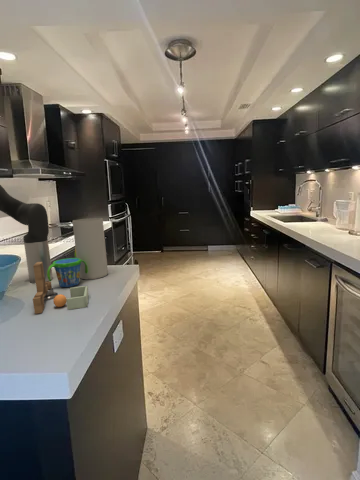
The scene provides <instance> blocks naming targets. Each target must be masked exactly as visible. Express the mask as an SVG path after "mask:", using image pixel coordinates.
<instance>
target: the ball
mask: <svg viewBox="0 0 360 480" xmlns="http://www.w3.org/2000/svg"><path fill="white" fill-rule="evenodd" d="M66 299H67V296H66V295H64V294H58V295H57V296H55V298H53V304H54V306H55V307H57V308H61V307H64V306H65V305H67V301H66Z"/></svg>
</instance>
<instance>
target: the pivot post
mask: <svg viewBox="0 0 360 480" xmlns="http://www.w3.org/2000/svg"><path fill="white" fill-rule="evenodd" d="M57 295H59V294H58V292H57V291H54V287H52V288H51V289H48V291H47V293H46V294H45V296H44V301H50V300H52V299H53V300H54V298H55V296H57Z"/></svg>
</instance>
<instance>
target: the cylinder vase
mask: <svg viewBox="0 0 360 480" xmlns="http://www.w3.org/2000/svg"><path fill="white" fill-rule="evenodd" d="M103 219H104V218H102V217H99V218H98V217H95V218H82V219H80V218H79V219H73V220H72V229H73V239H74V245H75V248H76V256H77V258H79V259H81V260H83V261H85V262H86V264H87V266H88V273H85V264H84V263H83V262H81V265H80V279H82V280H97V279H101V278H104V277H106V276H107V275H108V273H109V271H108V270H109V269H108V260H107V250H106V249H107V247H106V240H105V229H104V220H103ZM75 248H74V249H75Z"/></svg>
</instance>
